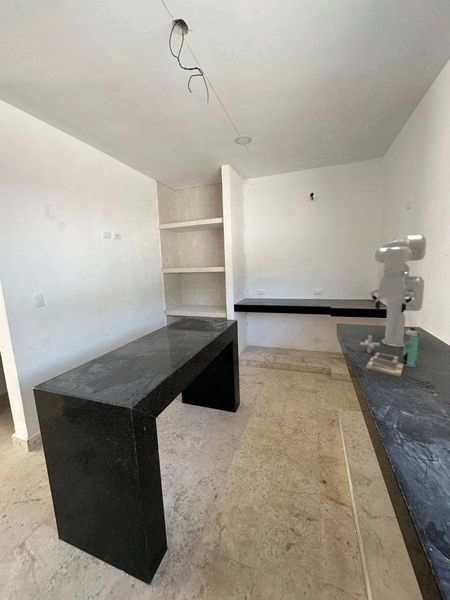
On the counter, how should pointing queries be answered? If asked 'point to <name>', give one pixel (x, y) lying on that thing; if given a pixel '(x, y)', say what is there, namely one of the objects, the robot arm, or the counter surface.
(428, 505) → the counter surface
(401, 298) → the robot arm
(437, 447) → the counter surface
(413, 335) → the spray can
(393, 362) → the collar block
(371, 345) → the pipe connector
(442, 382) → the counter surface
